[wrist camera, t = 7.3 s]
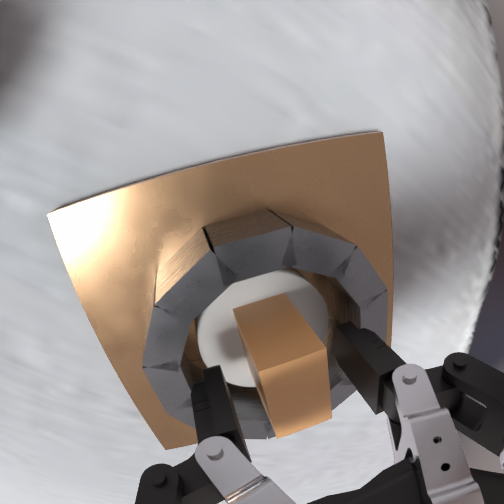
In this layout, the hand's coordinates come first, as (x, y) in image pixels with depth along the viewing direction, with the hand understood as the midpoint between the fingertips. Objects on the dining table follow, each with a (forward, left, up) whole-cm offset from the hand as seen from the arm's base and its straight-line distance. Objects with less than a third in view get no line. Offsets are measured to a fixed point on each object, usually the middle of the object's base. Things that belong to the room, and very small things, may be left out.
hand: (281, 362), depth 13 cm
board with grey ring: (0, 0, -4) cm, 4 cm away
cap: (0, 0, -3) cm, 3 cm away
